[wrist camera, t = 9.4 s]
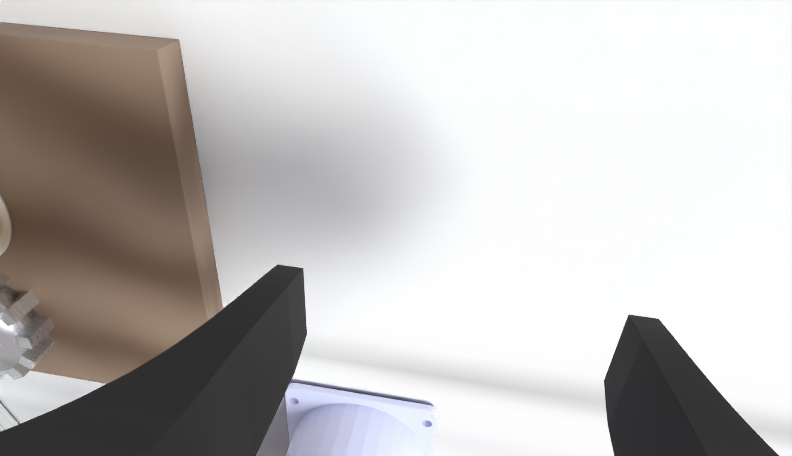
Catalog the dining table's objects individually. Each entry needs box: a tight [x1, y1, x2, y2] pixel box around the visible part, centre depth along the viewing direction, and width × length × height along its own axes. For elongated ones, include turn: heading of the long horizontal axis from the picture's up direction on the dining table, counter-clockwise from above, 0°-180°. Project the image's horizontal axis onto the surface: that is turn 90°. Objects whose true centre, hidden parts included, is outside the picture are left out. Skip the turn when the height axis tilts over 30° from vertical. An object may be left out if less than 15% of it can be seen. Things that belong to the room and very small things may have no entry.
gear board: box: [0, 22, 223, 384], centre depth 23 cm, size 18×16×6 cm
